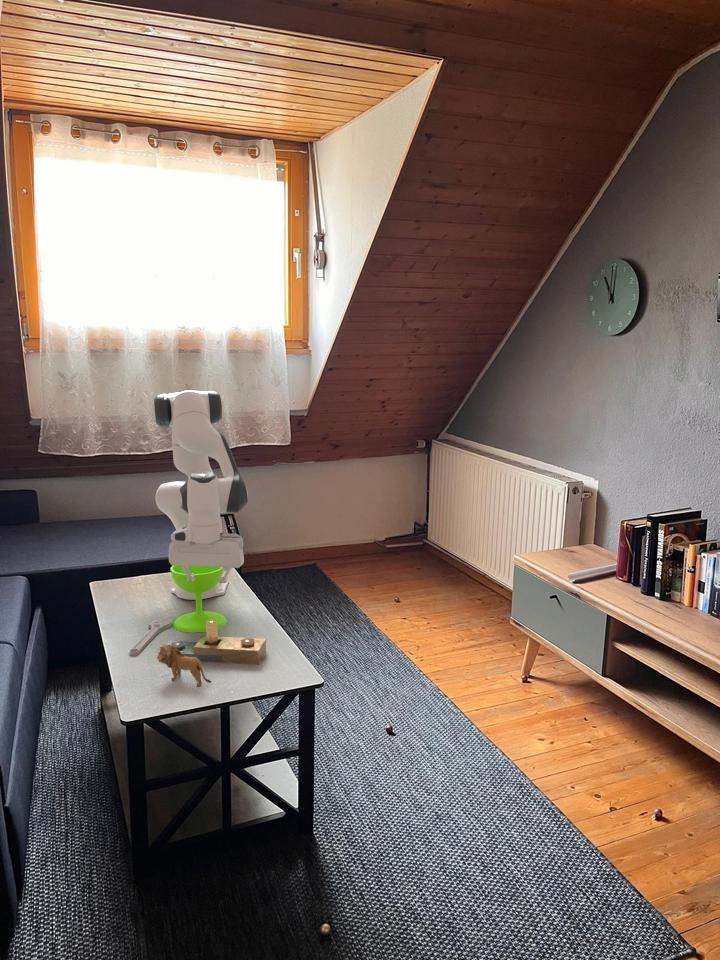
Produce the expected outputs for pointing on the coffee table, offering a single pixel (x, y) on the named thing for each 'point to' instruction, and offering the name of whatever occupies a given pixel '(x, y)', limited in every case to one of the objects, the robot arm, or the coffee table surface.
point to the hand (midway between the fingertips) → (207, 581)
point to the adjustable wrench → (150, 635)
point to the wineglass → (197, 597)
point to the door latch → (224, 650)
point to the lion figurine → (181, 663)
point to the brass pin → (212, 632)
